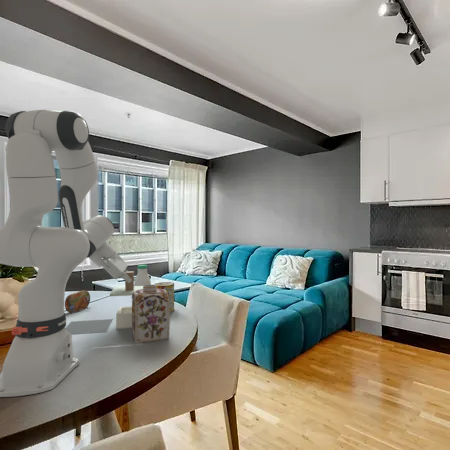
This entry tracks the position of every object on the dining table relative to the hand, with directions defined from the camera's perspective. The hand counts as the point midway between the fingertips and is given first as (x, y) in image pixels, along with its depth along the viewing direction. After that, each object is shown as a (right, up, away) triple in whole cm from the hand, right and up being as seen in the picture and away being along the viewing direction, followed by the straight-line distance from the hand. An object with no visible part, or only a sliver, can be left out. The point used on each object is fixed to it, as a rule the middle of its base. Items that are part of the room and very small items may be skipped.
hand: (131, 280), depth 125 cm
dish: (0, -17, 0) cm, 17 cm away
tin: (-31, -18, +21) cm, 41 cm away
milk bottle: (-2, -17, +26) cm, 31 cm away
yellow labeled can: (+9, -17, +21) cm, 29 cm away
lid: (-1, -4, 0) cm, 4 cm away
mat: (-16, -18, -3) cm, 24 cm away
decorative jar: (+10, -18, -12) cm, 24 cm away
